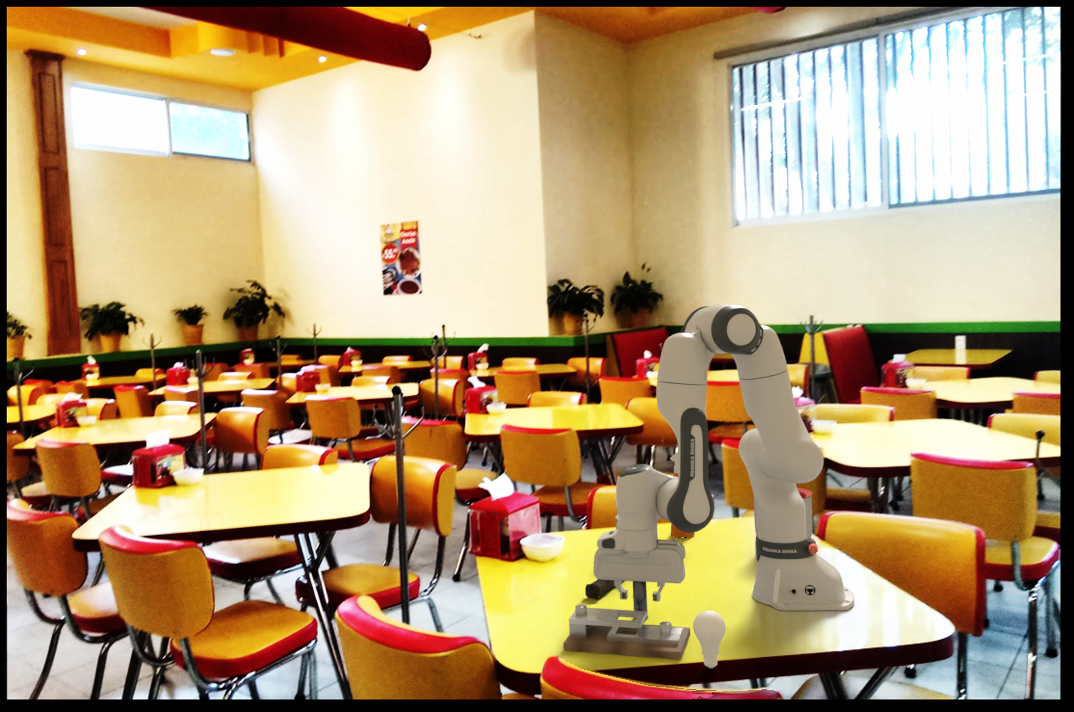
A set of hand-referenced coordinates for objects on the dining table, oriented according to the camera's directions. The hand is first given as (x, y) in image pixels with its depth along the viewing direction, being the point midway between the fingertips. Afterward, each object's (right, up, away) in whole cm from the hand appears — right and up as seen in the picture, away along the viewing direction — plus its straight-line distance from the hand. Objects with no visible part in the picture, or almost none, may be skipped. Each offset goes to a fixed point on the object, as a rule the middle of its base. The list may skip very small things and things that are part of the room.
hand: (640, 599), depth 192 cm
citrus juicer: (+44, 0, +41) cm, 60 cm away
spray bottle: (+22, +1, +64) cm, 67 cm away
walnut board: (-4, -5, -13) cm, 15 cm away
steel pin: (0, -4, 0) cm, 4 cm away
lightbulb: (+10, -6, -27) cm, 30 cm away
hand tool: (-5, -4, +22) cm, 23 cm away
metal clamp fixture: (-4, -4, -13) cm, 14 cm away
